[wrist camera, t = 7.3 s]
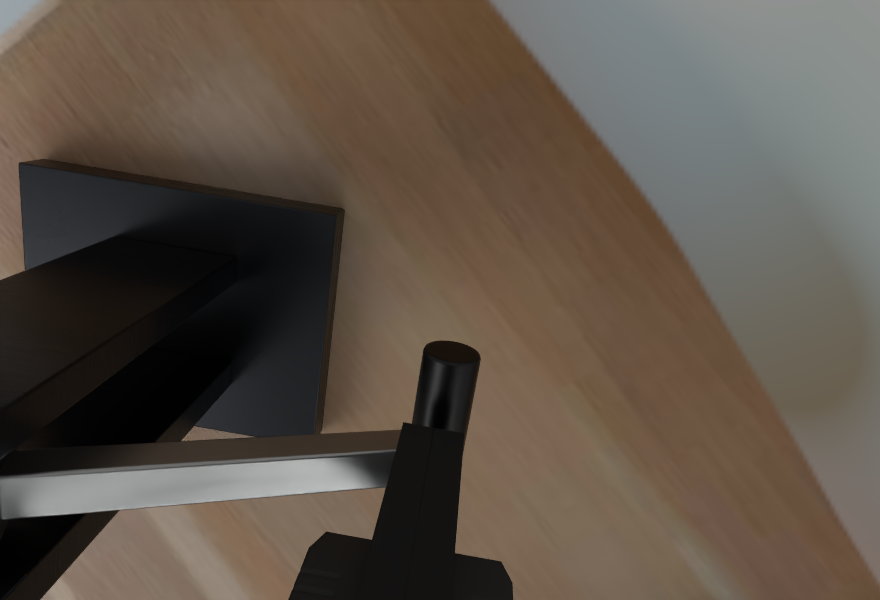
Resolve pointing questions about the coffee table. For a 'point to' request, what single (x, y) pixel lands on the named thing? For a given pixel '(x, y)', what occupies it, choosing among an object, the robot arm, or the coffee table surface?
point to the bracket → (154, 328)
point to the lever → (232, 458)
